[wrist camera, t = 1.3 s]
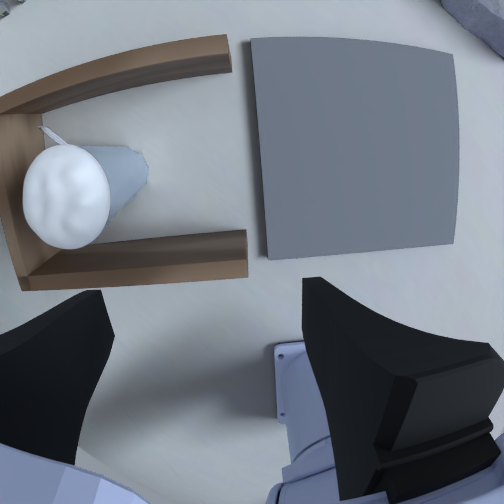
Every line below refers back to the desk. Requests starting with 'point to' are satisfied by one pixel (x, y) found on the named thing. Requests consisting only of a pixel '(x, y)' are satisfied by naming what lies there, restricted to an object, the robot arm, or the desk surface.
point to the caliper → (6, 7)
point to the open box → (115, 253)
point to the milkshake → (79, 190)
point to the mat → (355, 145)
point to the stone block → (480, 19)
